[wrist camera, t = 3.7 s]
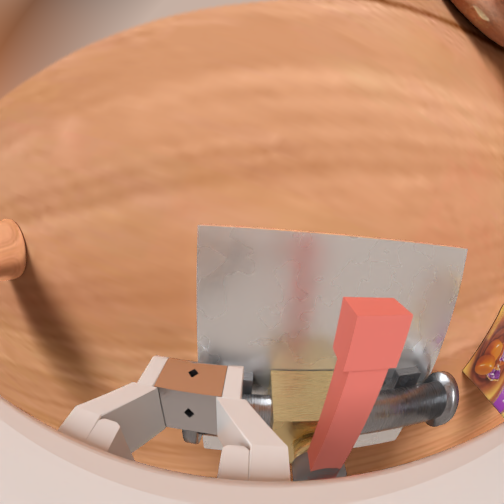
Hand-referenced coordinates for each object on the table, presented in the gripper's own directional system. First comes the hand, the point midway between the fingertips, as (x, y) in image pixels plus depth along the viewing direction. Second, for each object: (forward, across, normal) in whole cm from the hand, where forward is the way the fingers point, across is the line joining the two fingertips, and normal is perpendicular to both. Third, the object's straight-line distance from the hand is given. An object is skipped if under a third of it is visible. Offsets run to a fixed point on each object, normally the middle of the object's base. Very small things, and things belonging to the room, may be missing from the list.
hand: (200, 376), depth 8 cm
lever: (+3, +6, -4) cm, 8 cm away
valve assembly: (+10, +8, -7) cm, 15 cm away
